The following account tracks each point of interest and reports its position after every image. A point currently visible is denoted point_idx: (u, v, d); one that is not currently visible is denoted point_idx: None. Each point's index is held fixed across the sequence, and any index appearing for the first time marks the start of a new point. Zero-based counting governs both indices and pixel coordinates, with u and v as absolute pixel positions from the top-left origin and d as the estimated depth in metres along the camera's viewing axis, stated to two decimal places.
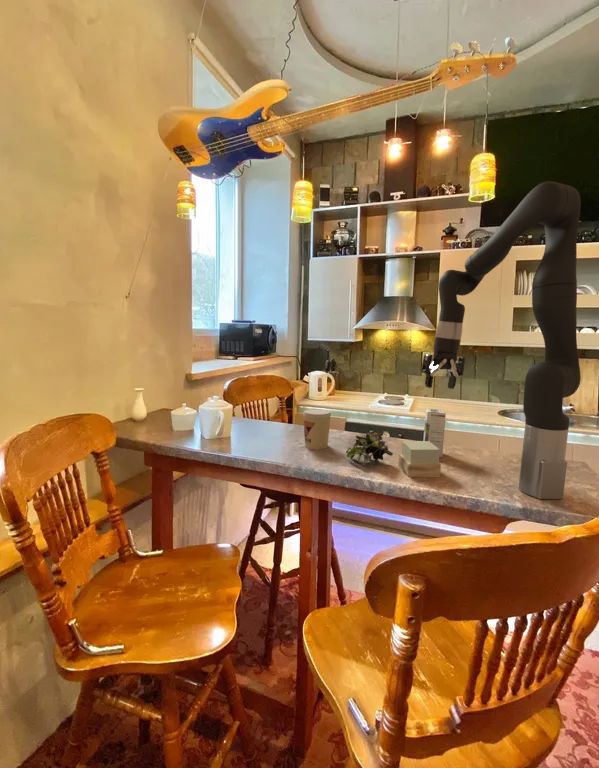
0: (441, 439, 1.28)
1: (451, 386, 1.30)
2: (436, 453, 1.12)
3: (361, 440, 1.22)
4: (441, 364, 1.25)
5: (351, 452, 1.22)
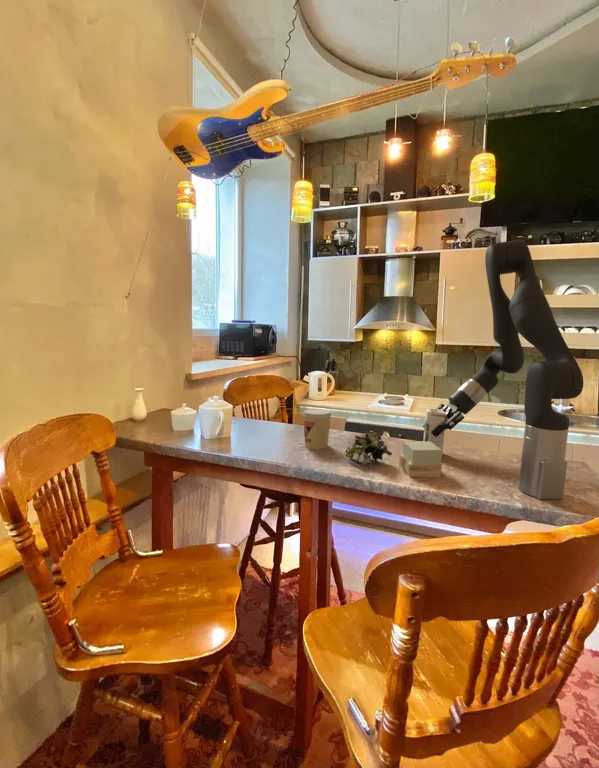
0: (441, 439, 1.28)
1: None
2: (438, 454, 1.11)
3: (360, 440, 1.22)
4: (441, 409, 1.32)
5: (350, 452, 1.22)
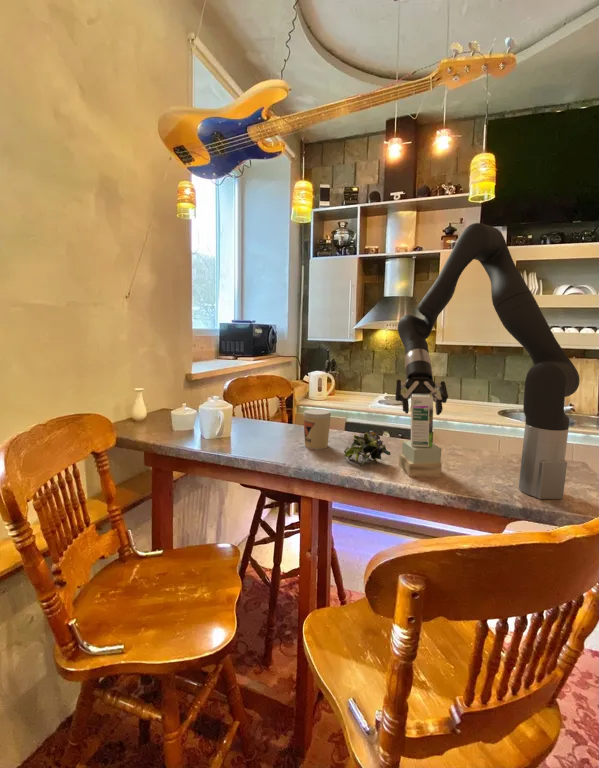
0: None
1: (437, 409, 1.12)
2: (438, 453, 1.12)
3: (359, 440, 1.22)
4: (413, 386, 1.16)
5: (349, 452, 1.22)
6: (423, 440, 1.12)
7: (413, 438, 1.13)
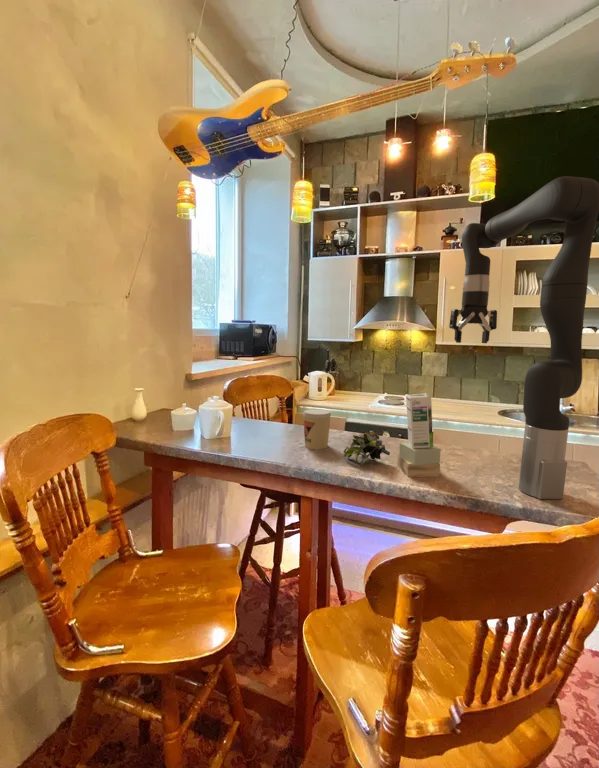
0: None
1: (484, 340, 1.29)
2: (437, 453, 1.12)
3: (358, 440, 1.22)
4: (469, 318, 1.26)
5: (348, 452, 1.22)
6: (424, 441, 1.11)
7: (414, 440, 1.11)
